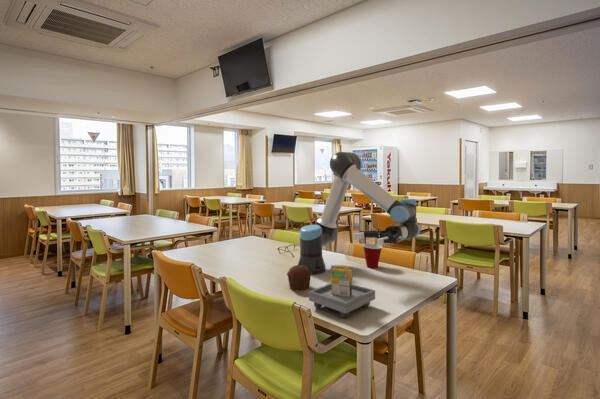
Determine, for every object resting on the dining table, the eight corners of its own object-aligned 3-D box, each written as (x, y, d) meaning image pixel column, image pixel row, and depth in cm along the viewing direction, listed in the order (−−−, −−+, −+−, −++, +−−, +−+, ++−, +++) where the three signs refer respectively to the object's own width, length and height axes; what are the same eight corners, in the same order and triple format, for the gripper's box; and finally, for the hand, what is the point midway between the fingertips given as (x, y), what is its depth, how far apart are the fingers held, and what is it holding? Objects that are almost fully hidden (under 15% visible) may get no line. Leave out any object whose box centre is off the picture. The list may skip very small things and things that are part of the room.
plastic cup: (383, 270, 180) (383, 247, 179) (362, 269, 182) (362, 247, 181) (382, 264, 190) (382, 243, 189) (362, 263, 192) (362, 242, 191)
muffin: (315, 290, 152) (315, 268, 151) (291, 293, 148) (290, 271, 148) (307, 282, 163) (306, 261, 162) (284, 284, 160) (284, 263, 159)
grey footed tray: (309, 307, 133) (308, 291, 132) (338, 295, 145) (338, 280, 145) (346, 321, 120) (346, 303, 119) (375, 306, 132) (375, 290, 132)
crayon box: (352, 294, 132) (351, 265, 131) (349, 297, 129) (349, 267, 128) (333, 292, 135) (333, 263, 134) (331, 294, 132) (331, 265, 131)
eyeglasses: (295, 249, 232) (295, 243, 232) (311, 253, 220) (311, 247, 220) (276, 253, 221) (276, 247, 221) (292, 258, 209) (292, 251, 209)
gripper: (418, 245, 152) (388, 253, 139) (374, 237, 171) (344, 243, 158) (419, 229, 151) (389, 235, 138) (374, 222, 171) (344, 227, 158)
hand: (365, 239), depth 148 cm, fingers open, 13 cm apart
